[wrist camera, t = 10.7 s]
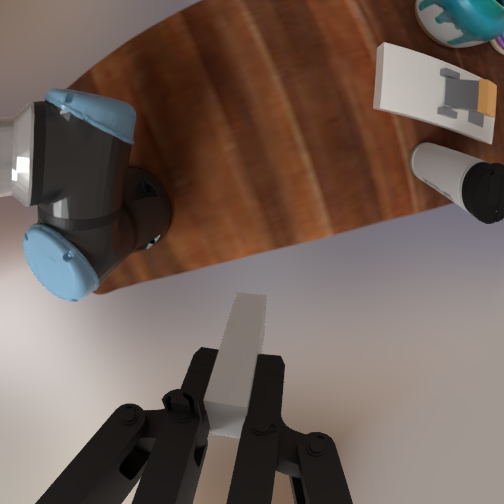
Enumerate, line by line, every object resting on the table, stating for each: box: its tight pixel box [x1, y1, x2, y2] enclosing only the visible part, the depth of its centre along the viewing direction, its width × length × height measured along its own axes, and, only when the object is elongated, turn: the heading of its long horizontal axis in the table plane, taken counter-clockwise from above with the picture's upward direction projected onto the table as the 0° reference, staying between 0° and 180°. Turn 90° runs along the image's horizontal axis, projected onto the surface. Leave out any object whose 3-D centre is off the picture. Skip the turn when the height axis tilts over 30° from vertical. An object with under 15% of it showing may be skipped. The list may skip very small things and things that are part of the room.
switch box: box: [373, 42, 495, 144], centre depth 30 cm, size 20×10×6 cm, turn 86°
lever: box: [443, 78, 497, 118], centre depth 25 cm, size 2×4×9 cm, turn 177°
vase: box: [414, 0, 504, 48], centre depth 18 cm, size 11×11×19 cm
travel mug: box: [410, 142, 504, 224], centre depth 29 cm, size 6×7×20 cm
